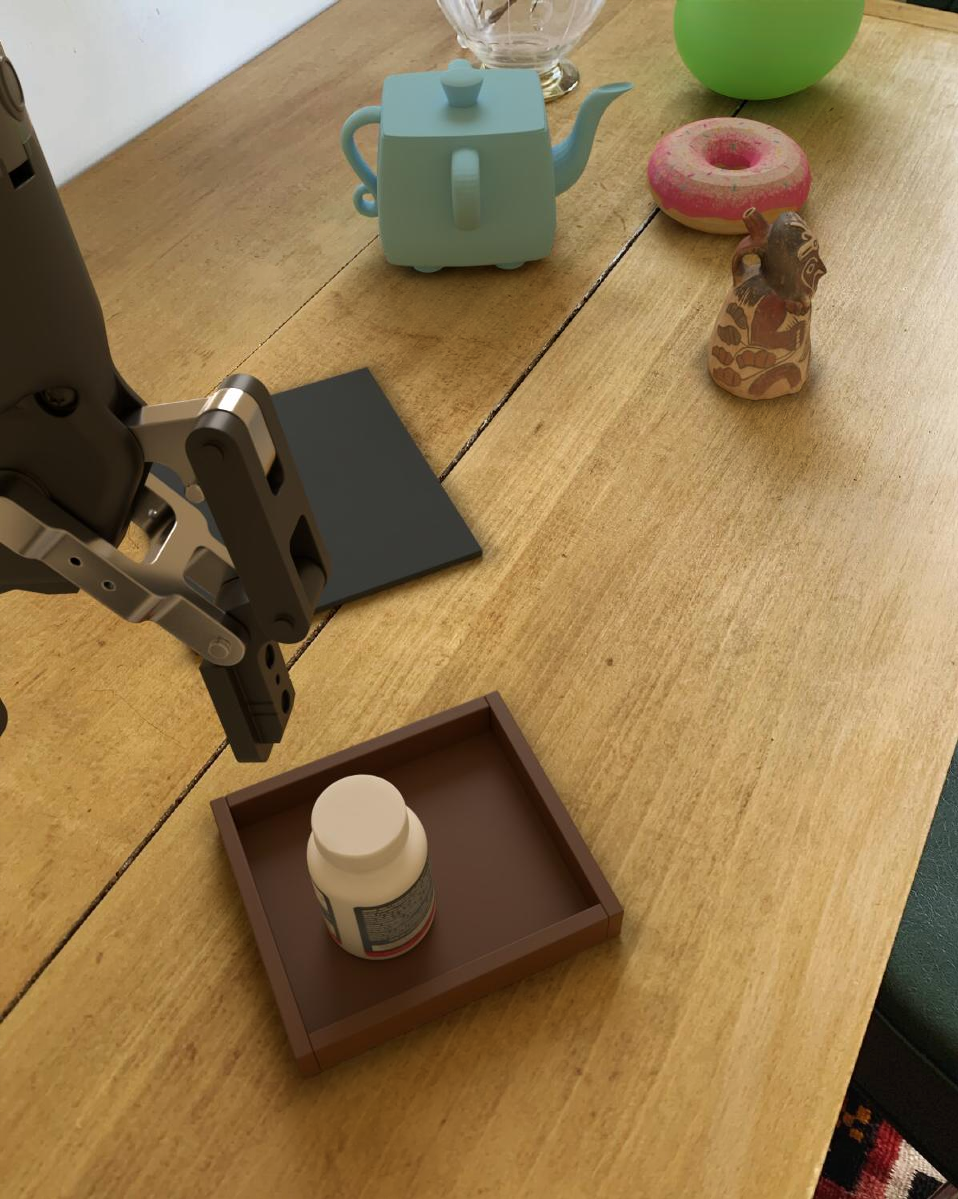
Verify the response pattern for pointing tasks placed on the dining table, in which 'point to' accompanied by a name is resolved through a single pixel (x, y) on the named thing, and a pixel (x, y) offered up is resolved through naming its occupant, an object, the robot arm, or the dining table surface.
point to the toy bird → (764, 43)
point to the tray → (459, 871)
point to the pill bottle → (370, 868)
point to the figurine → (767, 310)
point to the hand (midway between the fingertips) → (121, 743)
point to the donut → (727, 174)
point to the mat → (361, 489)
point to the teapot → (469, 165)
